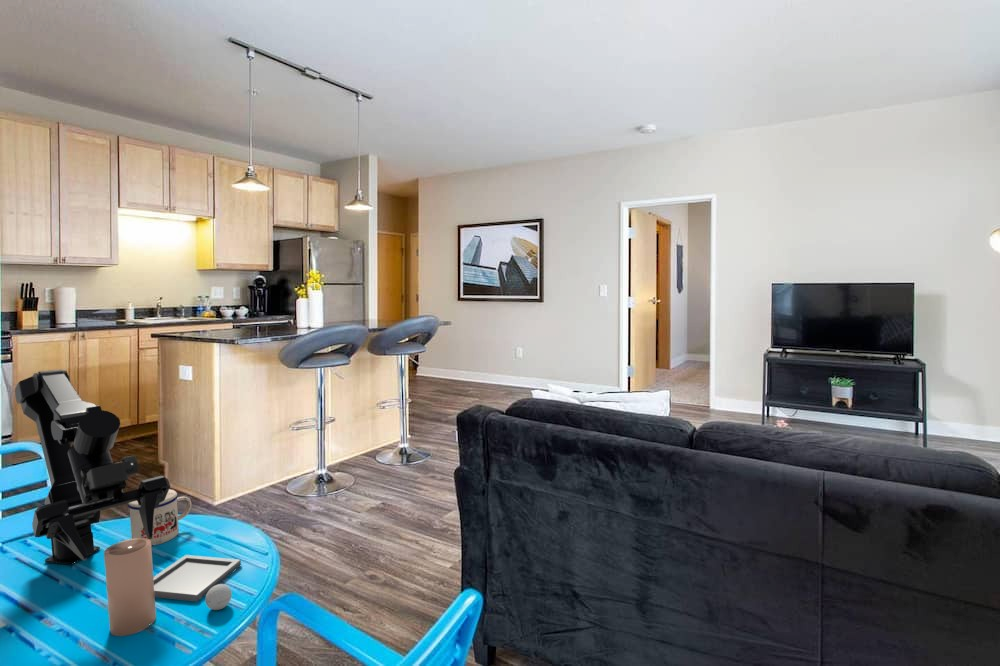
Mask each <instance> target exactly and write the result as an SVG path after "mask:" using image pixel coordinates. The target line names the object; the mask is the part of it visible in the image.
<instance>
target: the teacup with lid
mask: <svg viewBox="0 0 1000 666" xmlns="http://www.w3.org/2000/svg"><path fill="white" fill-rule="evenodd" d="M181 501H186V507H185V510H184V511H183V513H181V514H180V515H179V513H178V503H179V502H181ZM127 507H128V508H129V518H130V519H129V521H130V533H131V539H134V538H146V539H148V537H147V536H146V533H145V530H144V527H143V523H142V520H141V516H140V513H139V509H140V507H141V506H140V505H139V504H138V501H133V502H130V503H127ZM191 510H192V501H191V498H189V497H188V496H182V495H181V496H179V494H178V492H177V491H176V490H174V489H169V491H168V493H167V495H166V498H165V500H164V501H162V502H161V503H159V505H158V507H157V508H155V509H154V516H153V533H152V538H151V539H149V540H150V541H151V547H152V545H153V546H157V545H162V544H164V543H166V542H168V541H169V542H170V541H171V540H172V539H174V538H176V536H178V534H179V531H180V530H179V528H180V527H179V521H180V520H182V519H184V518H186V517H187V516H188V515H189V513H190V512H191Z"/></svg>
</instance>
